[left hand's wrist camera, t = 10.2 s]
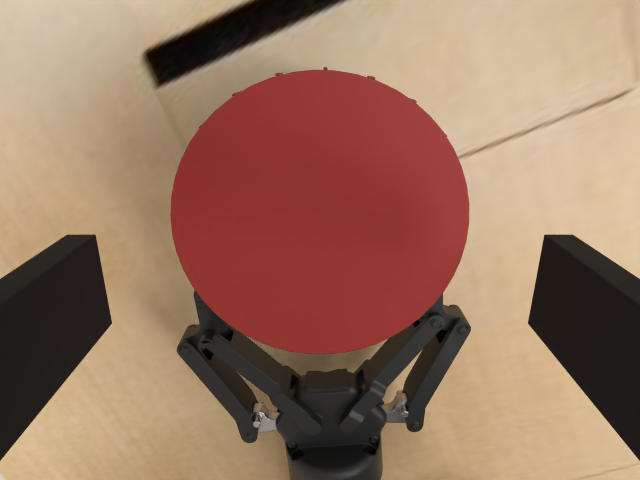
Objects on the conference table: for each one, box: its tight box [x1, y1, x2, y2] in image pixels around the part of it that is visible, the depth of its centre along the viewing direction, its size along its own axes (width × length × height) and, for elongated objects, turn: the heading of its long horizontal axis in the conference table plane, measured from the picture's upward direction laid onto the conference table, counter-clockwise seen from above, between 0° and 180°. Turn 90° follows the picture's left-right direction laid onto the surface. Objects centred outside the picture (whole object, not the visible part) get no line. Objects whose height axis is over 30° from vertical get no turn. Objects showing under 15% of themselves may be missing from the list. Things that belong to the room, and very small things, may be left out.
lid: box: [171, 67, 469, 354], centre depth 18 cm, size 11×11×2 cm
